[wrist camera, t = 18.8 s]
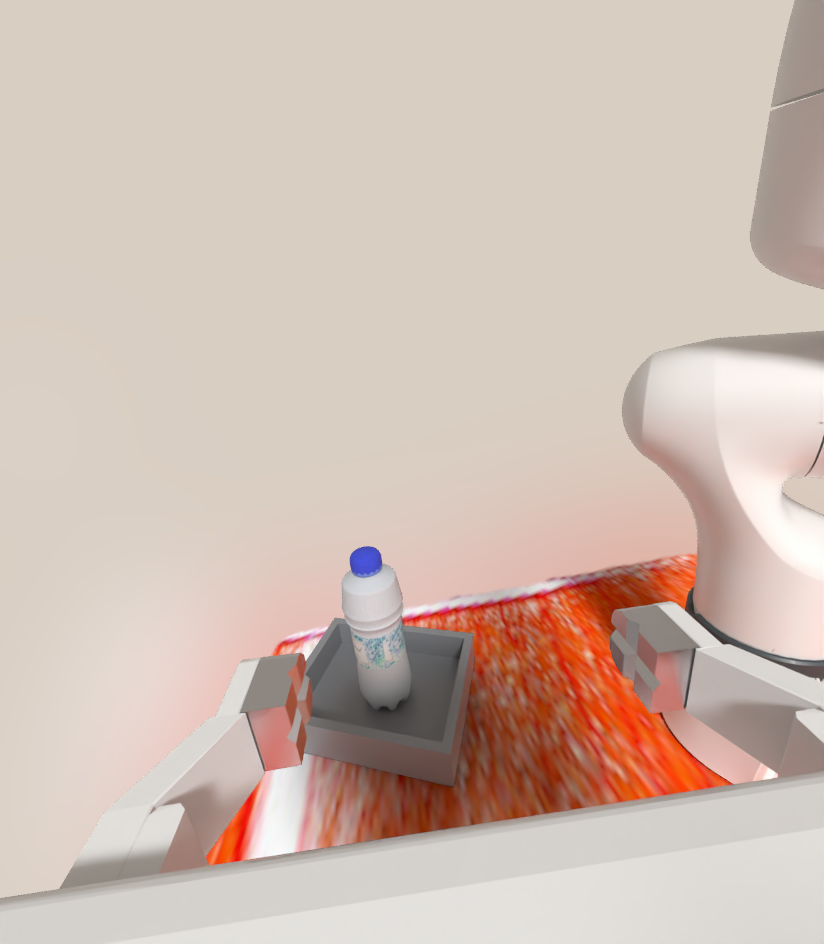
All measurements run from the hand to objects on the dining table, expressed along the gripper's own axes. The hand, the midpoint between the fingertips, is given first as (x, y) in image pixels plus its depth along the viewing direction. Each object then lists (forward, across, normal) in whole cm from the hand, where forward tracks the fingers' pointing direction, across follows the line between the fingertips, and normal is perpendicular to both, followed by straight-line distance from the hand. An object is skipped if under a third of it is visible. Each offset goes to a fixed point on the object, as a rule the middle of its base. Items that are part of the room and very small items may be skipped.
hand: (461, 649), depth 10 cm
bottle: (+29, +6, +33) cm, 44 cm away
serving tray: (+29, +6, +34) cm, 45 cm away
